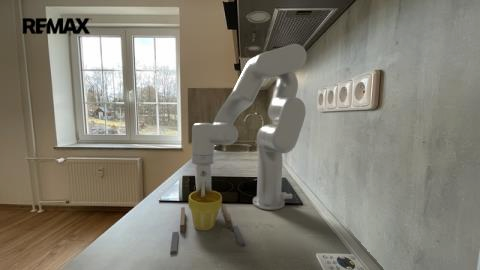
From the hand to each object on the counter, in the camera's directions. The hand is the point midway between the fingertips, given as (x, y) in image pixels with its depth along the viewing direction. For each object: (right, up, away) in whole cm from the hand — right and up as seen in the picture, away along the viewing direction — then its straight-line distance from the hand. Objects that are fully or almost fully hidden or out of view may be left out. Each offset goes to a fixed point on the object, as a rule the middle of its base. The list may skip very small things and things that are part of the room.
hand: (202, 209), depth 78 cm
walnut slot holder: (+2, -2, -5) cm, 6 cm away
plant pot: (+2, -3, -8) cm, 8 cm away
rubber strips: (+4, -4, -15) cm, 16 cm away
